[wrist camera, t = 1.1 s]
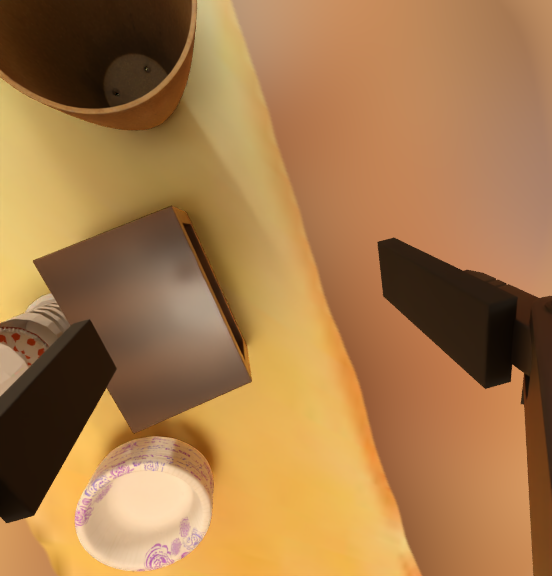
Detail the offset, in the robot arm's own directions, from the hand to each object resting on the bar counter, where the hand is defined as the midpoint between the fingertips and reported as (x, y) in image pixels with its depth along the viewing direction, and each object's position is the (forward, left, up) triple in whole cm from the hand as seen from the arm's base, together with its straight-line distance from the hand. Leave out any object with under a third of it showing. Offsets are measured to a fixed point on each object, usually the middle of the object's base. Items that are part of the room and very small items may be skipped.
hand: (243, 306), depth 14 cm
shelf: (+2, -10, -26) cm, 28 cm away
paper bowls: (+23, -21, -27) cm, 41 cm away
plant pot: (-21, -2, -27) cm, 34 cm away
